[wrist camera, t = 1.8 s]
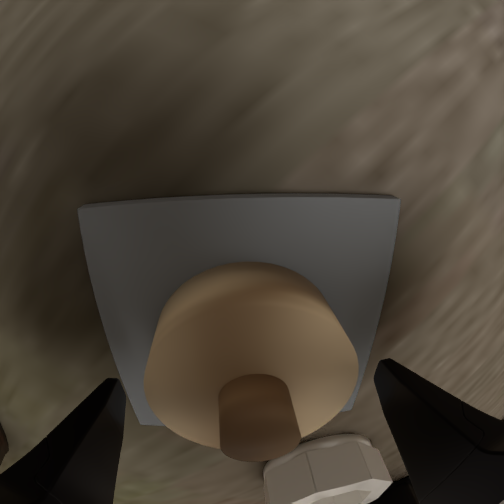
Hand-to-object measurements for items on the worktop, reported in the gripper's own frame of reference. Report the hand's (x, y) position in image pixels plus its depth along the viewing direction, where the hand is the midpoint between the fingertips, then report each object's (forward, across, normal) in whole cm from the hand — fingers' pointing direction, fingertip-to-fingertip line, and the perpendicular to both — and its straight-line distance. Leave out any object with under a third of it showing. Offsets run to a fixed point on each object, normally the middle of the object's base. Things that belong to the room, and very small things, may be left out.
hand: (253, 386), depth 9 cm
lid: (+2, 0, 0) cm, 2 cm away
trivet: (+3, 0, 0) cm, 3 cm away
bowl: (+3, -5, +13) cm, 14 cm away
